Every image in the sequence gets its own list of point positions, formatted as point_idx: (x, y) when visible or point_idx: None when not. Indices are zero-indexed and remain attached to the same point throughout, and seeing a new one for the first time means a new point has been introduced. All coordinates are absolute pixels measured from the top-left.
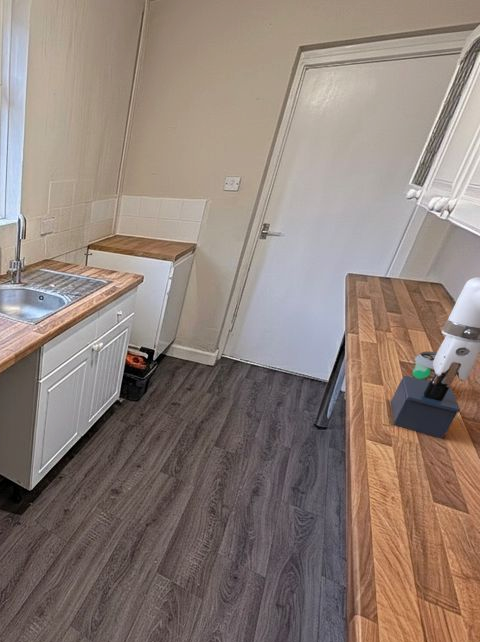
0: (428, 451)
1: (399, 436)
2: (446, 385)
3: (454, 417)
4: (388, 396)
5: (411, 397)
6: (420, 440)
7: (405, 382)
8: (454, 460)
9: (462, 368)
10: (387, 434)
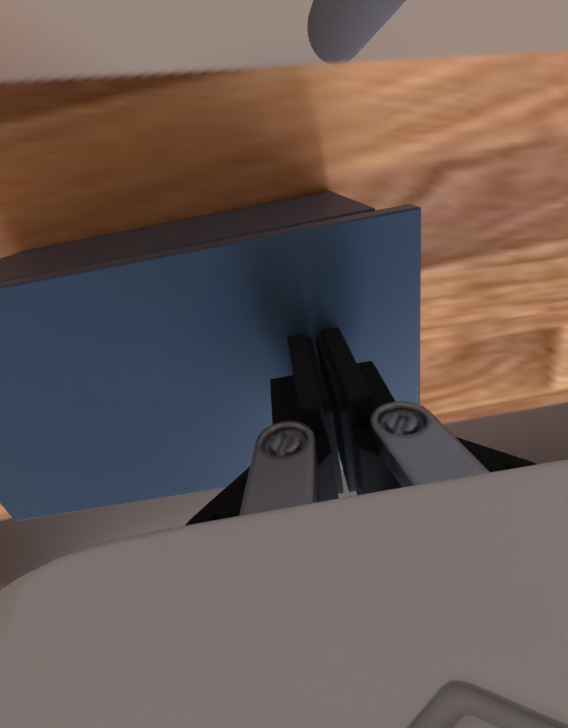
0: (518, 222)
1: (446, 321)
2: (460, 442)
3: (362, 204)
4: None
5: None
6: (426, 260)
7: (153, 498)
8: (544, 124)
9: None
10: (459, 352)
